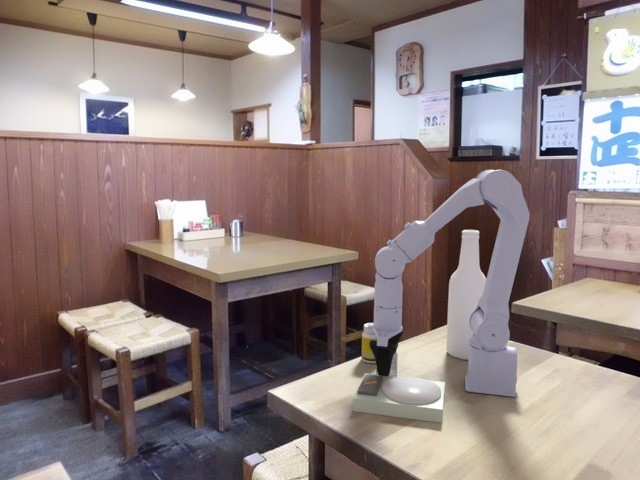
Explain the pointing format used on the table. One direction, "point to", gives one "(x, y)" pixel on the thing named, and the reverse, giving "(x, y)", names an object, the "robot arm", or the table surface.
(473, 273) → the alcohol
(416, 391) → the scale
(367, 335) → the supplement bottle
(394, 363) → the cylinder
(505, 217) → the robot arm
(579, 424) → the table surface
